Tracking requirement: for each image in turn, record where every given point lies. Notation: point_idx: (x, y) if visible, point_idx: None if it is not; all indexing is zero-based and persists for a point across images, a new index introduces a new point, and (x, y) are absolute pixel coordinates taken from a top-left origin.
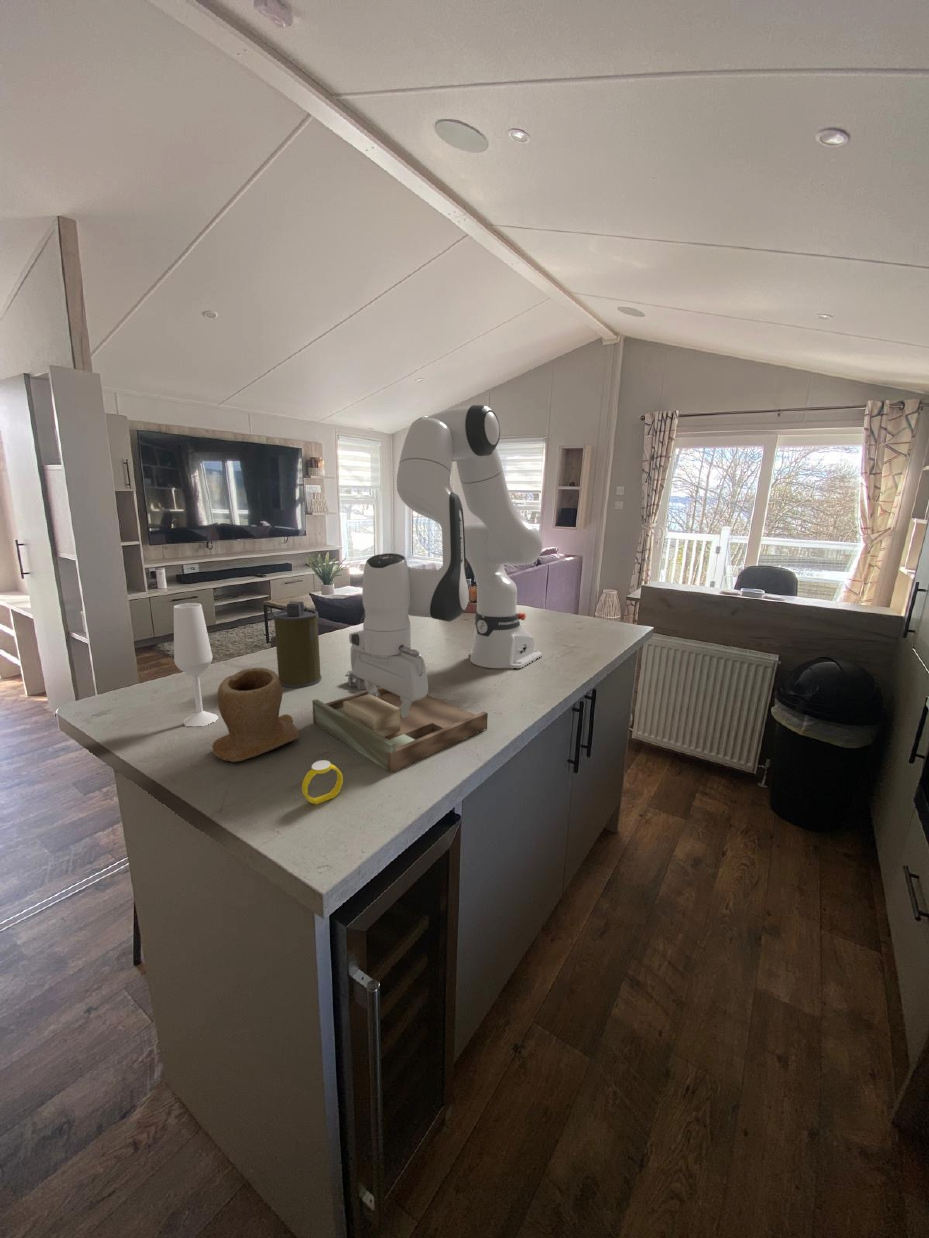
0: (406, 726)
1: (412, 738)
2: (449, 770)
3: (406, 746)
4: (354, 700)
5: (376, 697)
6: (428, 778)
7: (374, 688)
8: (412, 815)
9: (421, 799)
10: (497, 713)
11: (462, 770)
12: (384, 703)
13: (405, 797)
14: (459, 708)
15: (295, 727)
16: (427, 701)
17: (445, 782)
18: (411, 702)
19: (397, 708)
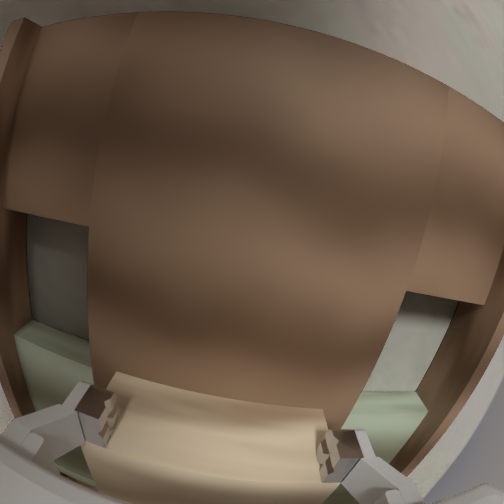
0: (325, 378)
1: (388, 414)
2: (478, 389)
3: (410, 471)
4: (112, 490)
5: (142, 461)
6: (447, 429)
7: (61, 429)
8: (441, 474)
9: (446, 457)
10: (466, 16)
11: (498, 372)
12: (236, 487)
13: (423, 469)
14: (423, 76)
15: (93, 487)
16: (226, 75)
17: (475, 415)
18: (401, 479)
19: (330, 486)
